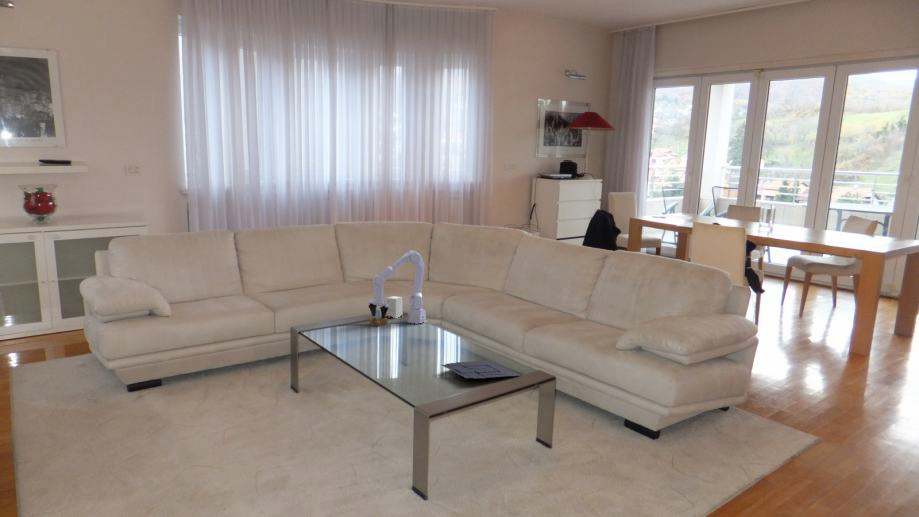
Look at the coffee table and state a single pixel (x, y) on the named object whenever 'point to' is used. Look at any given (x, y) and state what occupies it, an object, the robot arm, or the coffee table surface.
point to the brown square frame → (378, 322)
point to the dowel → (378, 314)
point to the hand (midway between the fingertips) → (378, 317)
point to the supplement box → (394, 306)
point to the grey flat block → (479, 369)
